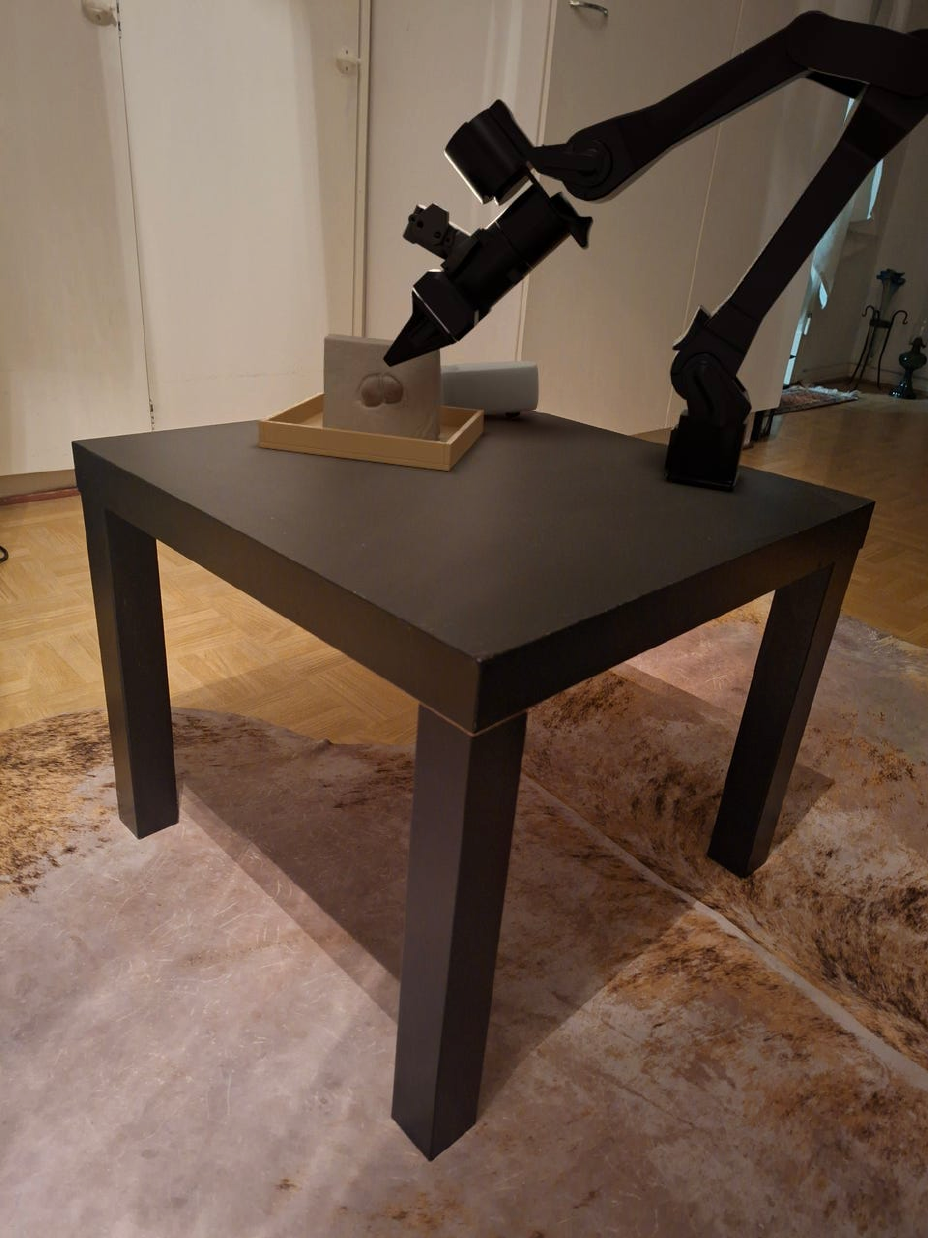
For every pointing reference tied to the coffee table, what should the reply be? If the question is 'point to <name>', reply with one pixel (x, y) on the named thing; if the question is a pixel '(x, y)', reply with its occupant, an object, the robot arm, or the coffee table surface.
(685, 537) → the coffee table surface
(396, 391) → the fossil
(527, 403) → the toy
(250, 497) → the coffee table surface
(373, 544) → the coffee table surface
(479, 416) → the wooden tray
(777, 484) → the coffee table surface
